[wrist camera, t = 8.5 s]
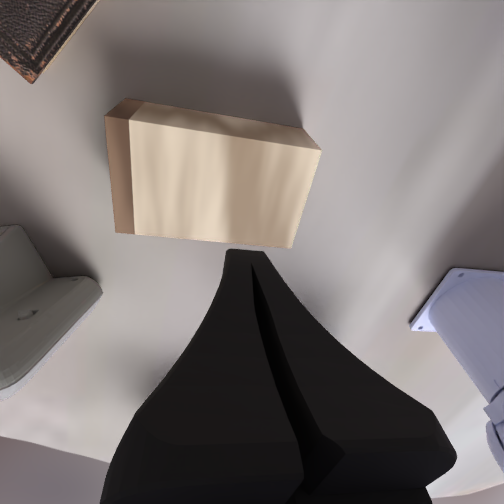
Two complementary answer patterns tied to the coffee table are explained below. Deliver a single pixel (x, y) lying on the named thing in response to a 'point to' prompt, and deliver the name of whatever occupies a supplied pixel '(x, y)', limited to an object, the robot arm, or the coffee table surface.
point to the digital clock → (35, 309)
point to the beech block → (207, 175)
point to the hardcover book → (38, 31)
